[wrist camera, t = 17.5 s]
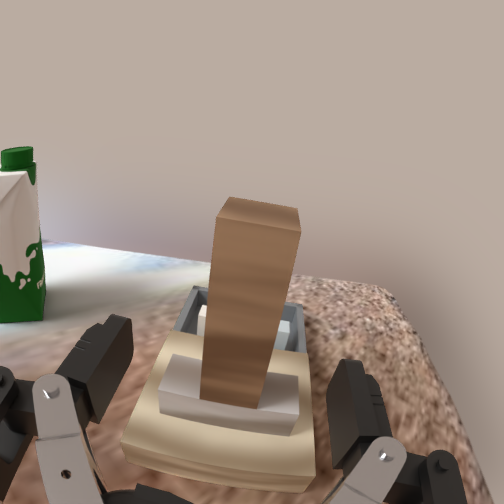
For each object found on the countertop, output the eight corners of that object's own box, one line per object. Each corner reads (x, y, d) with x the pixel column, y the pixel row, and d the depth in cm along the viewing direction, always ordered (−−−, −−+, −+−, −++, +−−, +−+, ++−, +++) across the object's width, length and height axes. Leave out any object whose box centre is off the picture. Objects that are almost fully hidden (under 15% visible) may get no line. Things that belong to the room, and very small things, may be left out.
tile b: (289, 332, 32) (289, 321, 34) (251, 326, 32) (252, 315, 34) (281, 360, 34) (281, 349, 35) (245, 354, 34) (247, 343, 35)
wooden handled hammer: (289, 436, 21) (361, 242, 15) (159, 413, 21) (156, 207, 15) (289, 399, 25) (346, 218, 18) (173, 378, 25) (180, 189, 19)
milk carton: (48, 324, 32) (28, 153, 24) (-14, 328, 27) (-46, 162, 19) (52, 286, 39) (41, 142, 30) (-2, 290, 34) (-21, 149, 26)
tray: (299, 374, 32) (306, 355, 31) (171, 352, 33) (171, 331, 31) (297, 323, 41) (302, 304, 40) (192, 304, 42) (193, 285, 40)
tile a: (236, 322, 32) (238, 311, 34) (198, 315, 32) (202, 304, 34) (231, 350, 34) (234, 339, 36) (196, 343, 34) (200, 333, 36)
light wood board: (302, 493, 19) (315, 476, 18) (126, 461, 20) (119, 441, 18) (299, 377, 32) (308, 353, 31) (170, 354, 32) (170, 329, 31)
